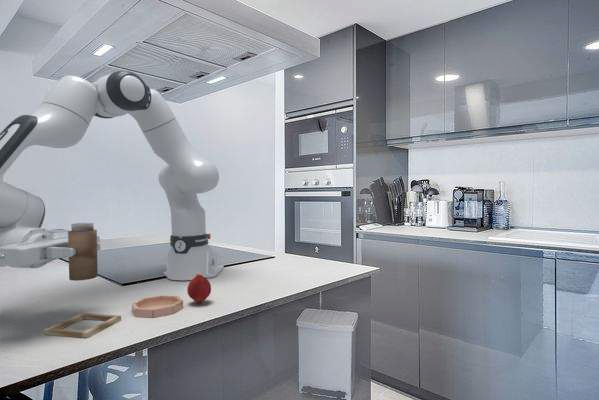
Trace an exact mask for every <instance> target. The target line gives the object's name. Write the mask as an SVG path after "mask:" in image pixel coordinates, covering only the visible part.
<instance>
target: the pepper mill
mask: <svg viewBox="0 0 599 400" xmlns="http://www.w3.org/2000/svg"><path fill="white" fill-rule="evenodd" d="M70 225H71V230H69V231H68V247H76V248H77V251H76V252H77V255H76V256H72V257H68V279H69V280H70V281H75V282H76V281H77V282H78V281H87V280H92V279H95V278H97V277H99V275H98V273H99V272H98V271H99V269H98V268H99V267H98V251H97V235H98V231H97V229H95V228H94V222H76V223H71V224H70Z"/></svg>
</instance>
